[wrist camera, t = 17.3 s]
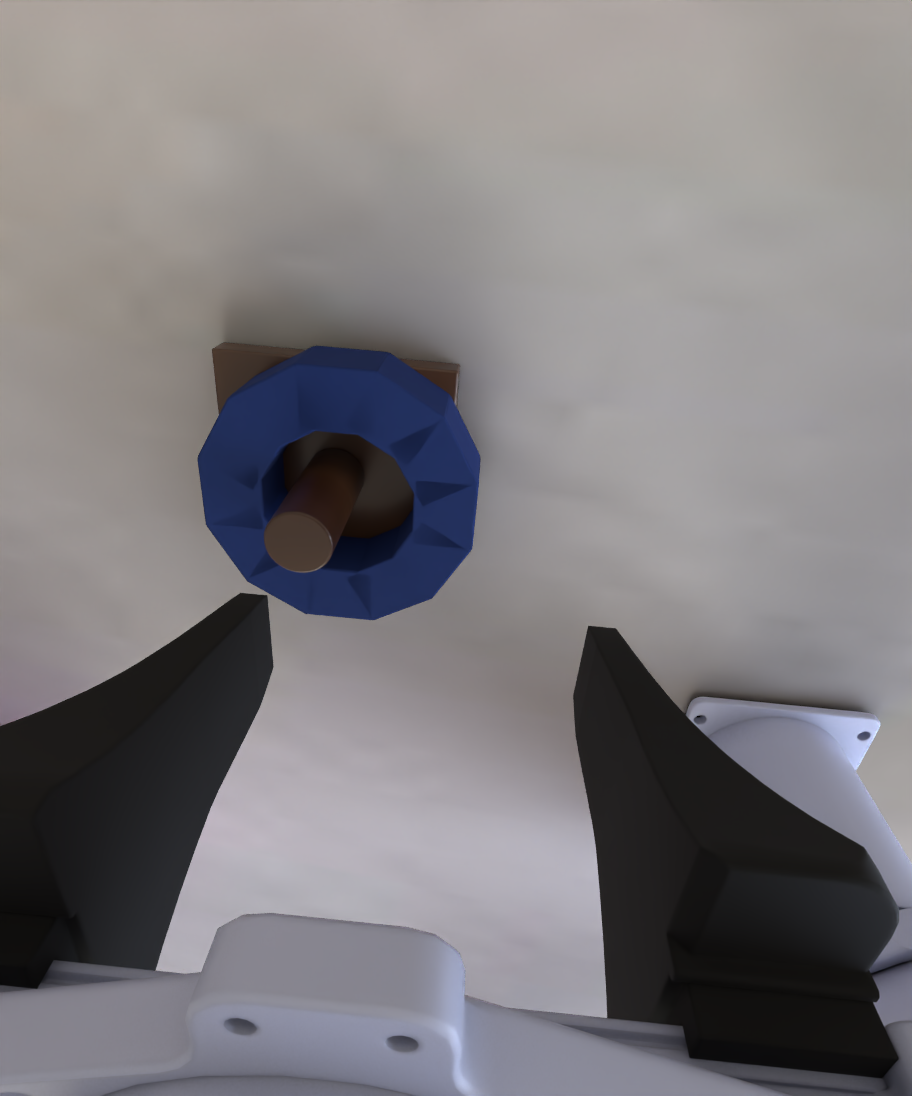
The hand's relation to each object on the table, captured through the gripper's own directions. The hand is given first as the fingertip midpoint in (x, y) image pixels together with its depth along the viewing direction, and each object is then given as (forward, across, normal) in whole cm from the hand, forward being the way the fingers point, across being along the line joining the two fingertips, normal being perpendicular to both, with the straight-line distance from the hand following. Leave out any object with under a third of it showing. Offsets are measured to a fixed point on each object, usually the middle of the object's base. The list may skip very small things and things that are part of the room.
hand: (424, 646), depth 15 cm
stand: (+10, +4, 0) cm, 11 cm away
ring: (+9, +4, 0) cm, 10 cm away
